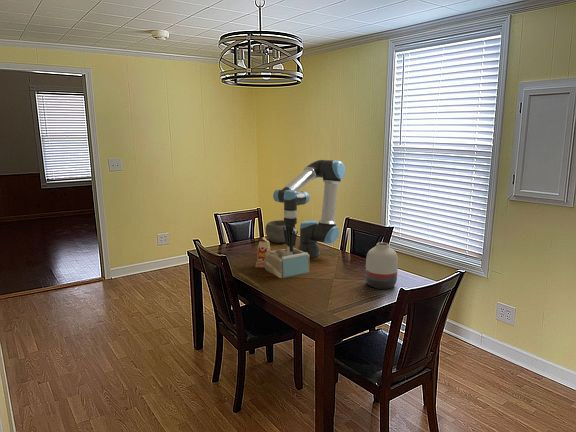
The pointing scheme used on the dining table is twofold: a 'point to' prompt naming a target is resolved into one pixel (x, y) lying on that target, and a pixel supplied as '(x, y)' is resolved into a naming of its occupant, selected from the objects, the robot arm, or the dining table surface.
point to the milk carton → (262, 252)
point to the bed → (278, 260)
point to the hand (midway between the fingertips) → (289, 256)
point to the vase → (381, 266)
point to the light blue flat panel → (295, 265)
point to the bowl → (275, 231)
